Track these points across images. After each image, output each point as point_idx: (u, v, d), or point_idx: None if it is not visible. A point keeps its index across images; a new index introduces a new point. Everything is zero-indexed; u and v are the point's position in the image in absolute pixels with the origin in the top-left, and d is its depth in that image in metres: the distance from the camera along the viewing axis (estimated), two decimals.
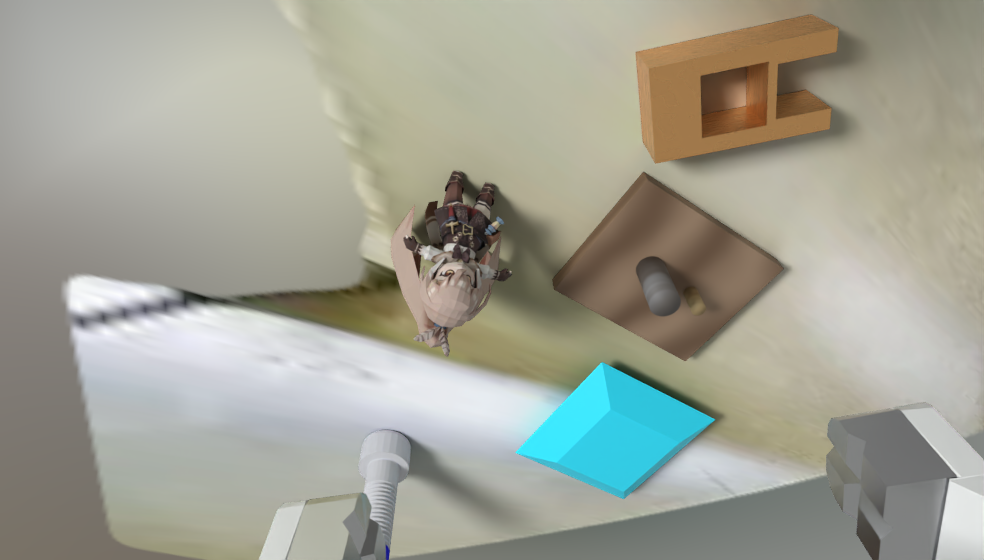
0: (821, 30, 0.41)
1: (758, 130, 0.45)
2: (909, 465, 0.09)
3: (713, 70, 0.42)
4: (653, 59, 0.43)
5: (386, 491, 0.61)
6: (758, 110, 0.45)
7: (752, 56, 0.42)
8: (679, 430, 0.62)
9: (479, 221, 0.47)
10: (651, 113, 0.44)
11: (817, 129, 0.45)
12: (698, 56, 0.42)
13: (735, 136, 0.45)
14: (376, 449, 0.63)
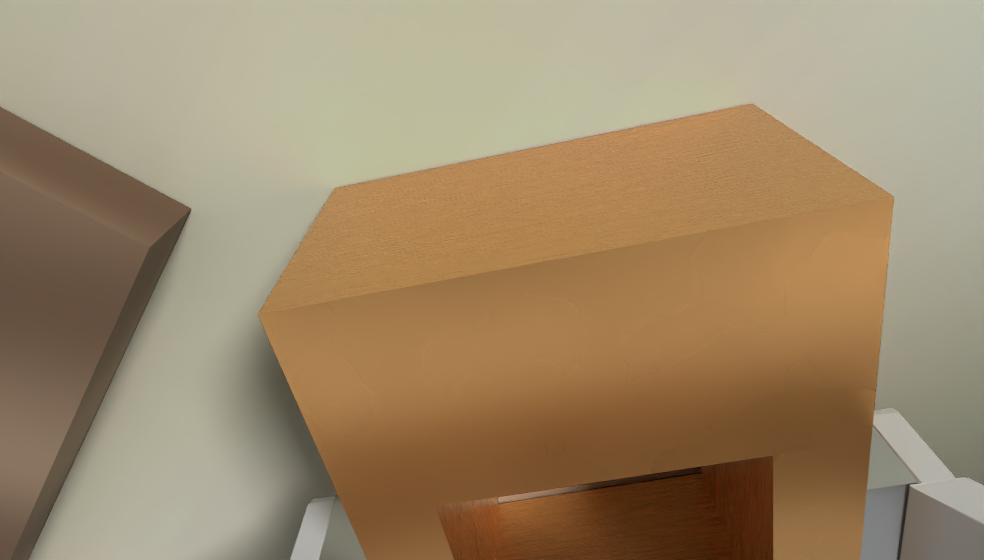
0: None
1: None
2: (871, 471, 0.09)
3: (787, 501, 0.09)
4: None
5: None
6: None
7: None
8: None
9: None
10: (582, 248, 0.07)
11: None
12: (862, 428, 0.08)
13: None
14: None
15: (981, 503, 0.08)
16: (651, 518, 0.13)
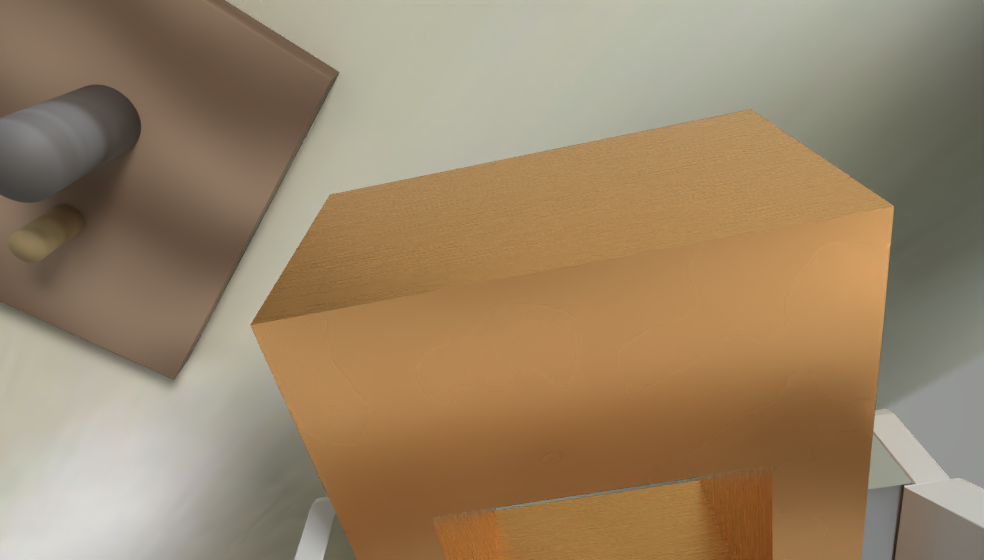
0: None
1: None
2: None
3: (786, 512, 0.08)
4: None
5: None
6: None
7: None
8: None
9: None
10: (578, 257, 0.07)
11: None
12: (862, 439, 0.08)
13: None
14: None
15: (975, 504, 0.08)
16: (649, 525, 0.13)
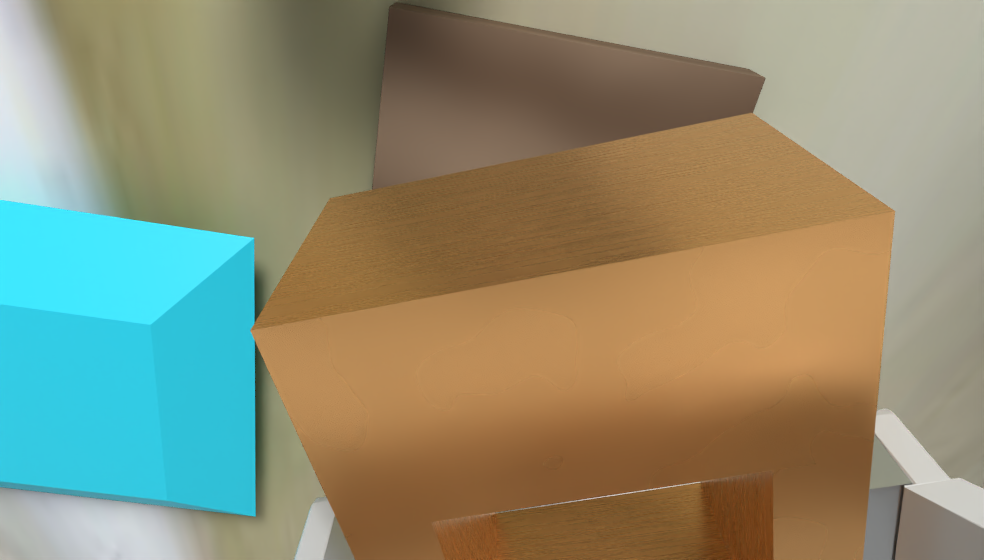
0: None
1: None
2: None
3: (787, 516, 0.08)
4: None
5: None
6: None
7: None
8: (194, 481, 0.26)
9: None
10: (579, 263, 0.07)
11: None
12: (863, 443, 0.08)
13: None
14: None
15: (975, 504, 0.09)
16: (650, 528, 0.13)
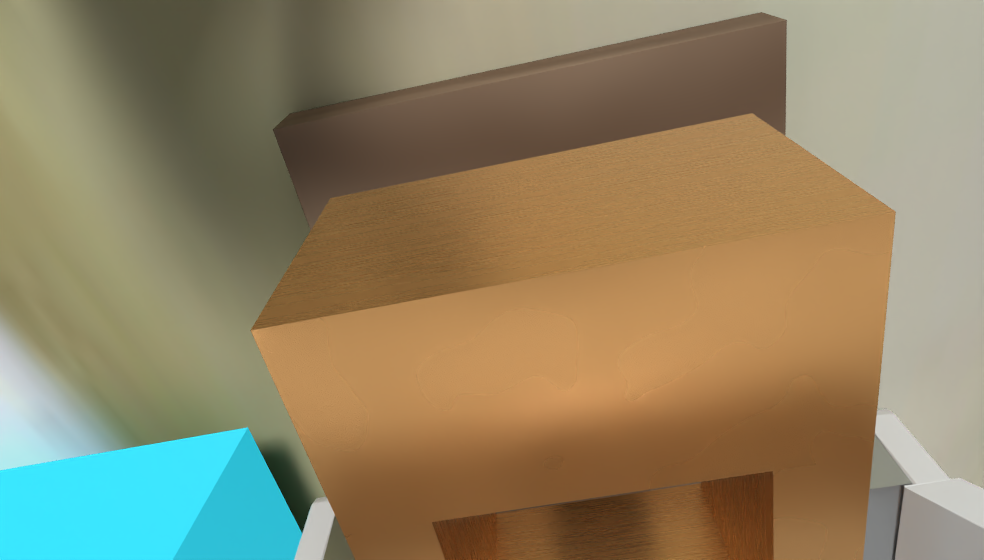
0: None
1: None
2: None
3: (787, 517, 0.08)
4: None
5: None
6: None
7: None
8: None
9: None
10: (579, 263, 0.07)
11: None
12: (864, 444, 0.08)
13: None
14: None
15: (975, 504, 0.09)
16: (650, 529, 0.13)
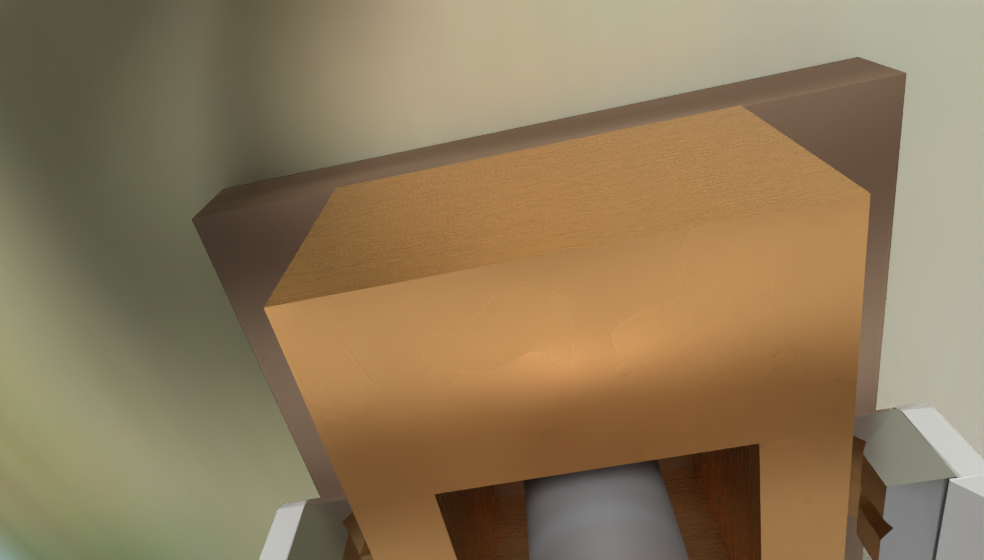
0: None
1: None
2: (909, 465, 0.09)
3: (773, 488, 0.09)
4: None
5: None
6: None
7: None
8: None
9: None
10: (574, 243, 0.07)
11: None
12: (845, 417, 0.09)
13: None
14: None
15: None
16: None
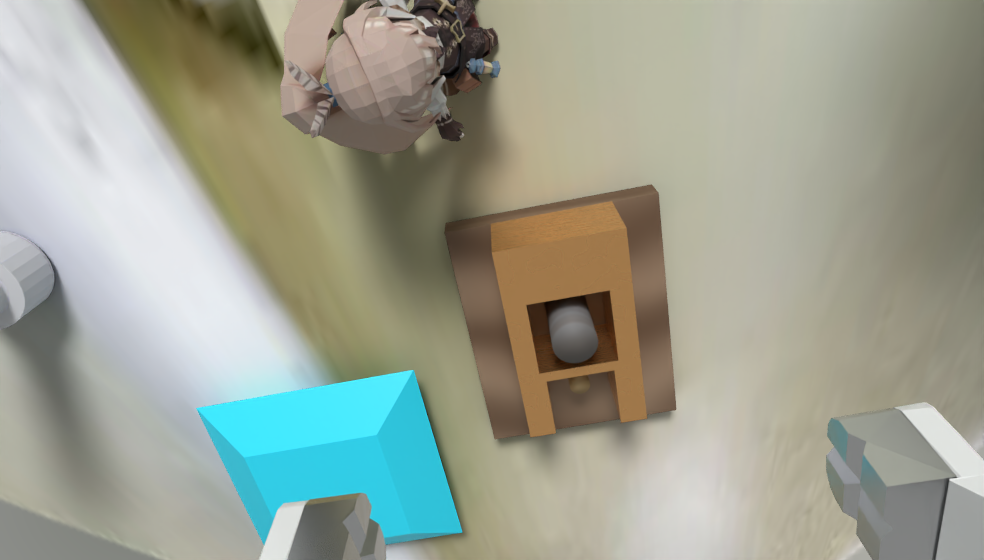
0: (644, 402, 0.37)
1: (533, 366, 0.36)
2: (909, 465, 0.09)
3: (614, 304, 0.34)
4: None
5: None
6: (546, 356, 0.37)
7: (626, 342, 0.35)
8: (422, 518, 0.43)
9: (474, 40, 0.28)
10: (563, 238, 0.32)
11: (530, 425, 0.37)
12: (632, 284, 0.34)
13: (526, 343, 0.35)
14: None
15: None
16: None
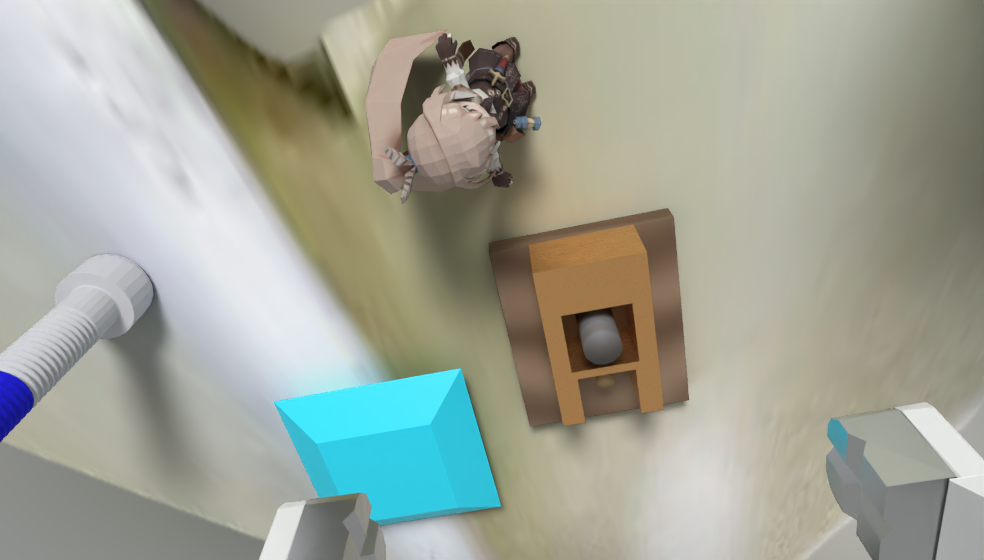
0: (661, 396, 0.43)
1: (566, 367, 0.42)
2: (909, 465, 0.09)
3: (636, 314, 0.40)
4: None
5: (83, 334, 0.39)
6: (576, 357, 0.43)
7: (646, 346, 0.41)
8: (467, 494, 0.50)
9: (520, 102, 0.34)
10: (593, 260, 0.38)
11: (563, 416, 0.44)
12: (651, 297, 0.39)
13: (561, 347, 0.41)
14: (109, 276, 0.41)
15: None
16: None
